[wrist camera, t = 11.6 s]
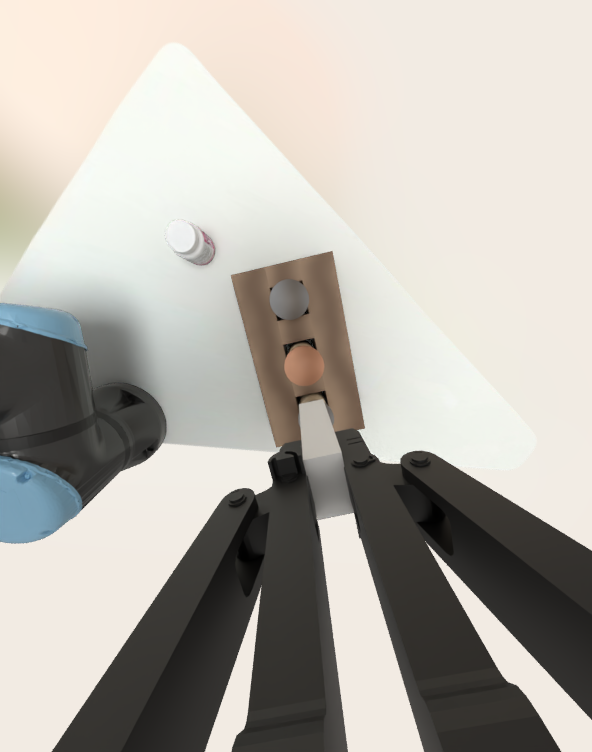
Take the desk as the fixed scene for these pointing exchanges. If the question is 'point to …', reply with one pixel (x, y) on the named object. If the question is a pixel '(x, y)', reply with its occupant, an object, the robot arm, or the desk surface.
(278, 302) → the plug
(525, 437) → the desk surface
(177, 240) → the pill bottle
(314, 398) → the plug
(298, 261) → the socket board
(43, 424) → the robot arm
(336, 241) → the desk surface
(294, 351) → the plug middle
